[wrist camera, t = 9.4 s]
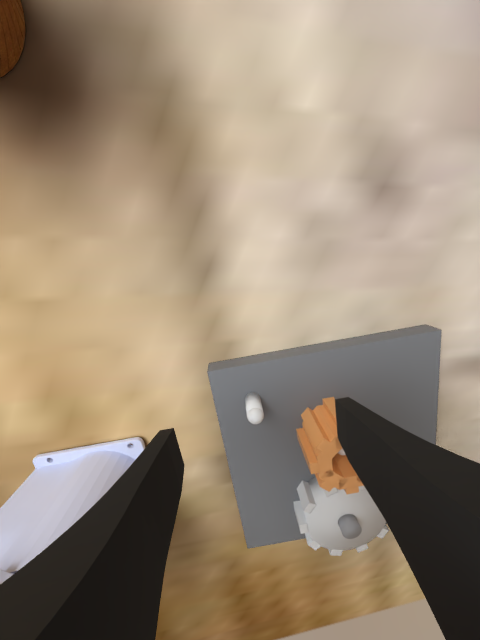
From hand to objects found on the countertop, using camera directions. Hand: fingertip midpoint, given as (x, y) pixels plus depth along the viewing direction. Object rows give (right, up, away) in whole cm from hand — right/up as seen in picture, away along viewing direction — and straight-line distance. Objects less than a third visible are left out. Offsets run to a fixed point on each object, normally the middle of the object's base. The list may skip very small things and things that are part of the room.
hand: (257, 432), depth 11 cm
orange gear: (+7, -4, +10) cm, 12 cm away
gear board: (+7, -6, +12) cm, 15 cm away
